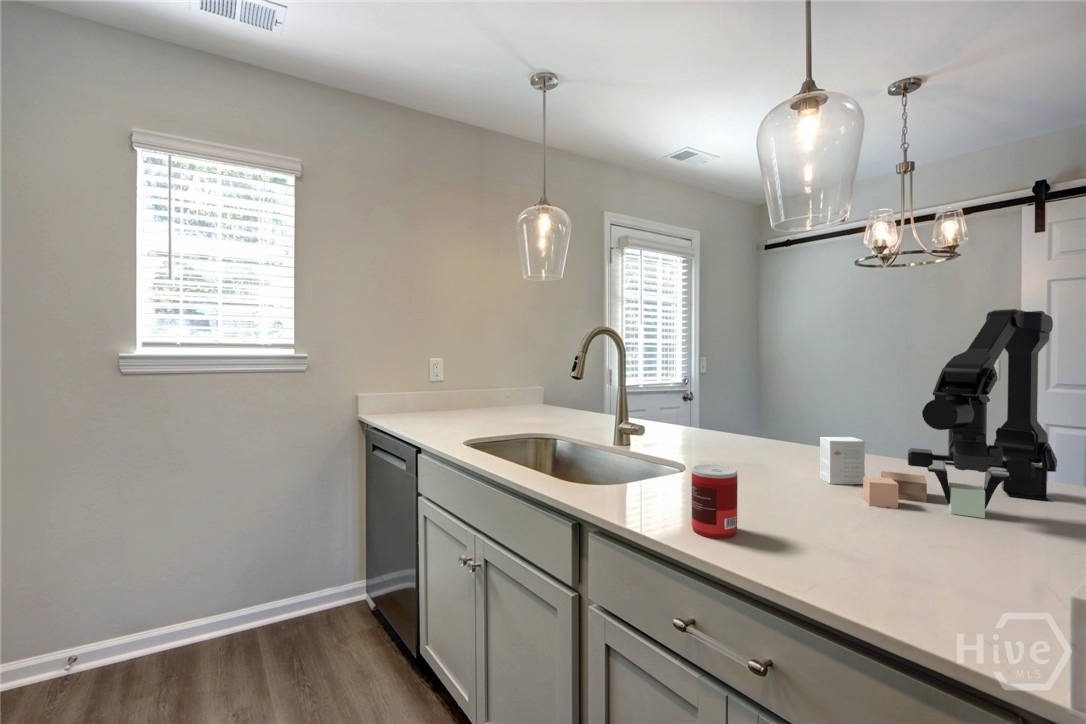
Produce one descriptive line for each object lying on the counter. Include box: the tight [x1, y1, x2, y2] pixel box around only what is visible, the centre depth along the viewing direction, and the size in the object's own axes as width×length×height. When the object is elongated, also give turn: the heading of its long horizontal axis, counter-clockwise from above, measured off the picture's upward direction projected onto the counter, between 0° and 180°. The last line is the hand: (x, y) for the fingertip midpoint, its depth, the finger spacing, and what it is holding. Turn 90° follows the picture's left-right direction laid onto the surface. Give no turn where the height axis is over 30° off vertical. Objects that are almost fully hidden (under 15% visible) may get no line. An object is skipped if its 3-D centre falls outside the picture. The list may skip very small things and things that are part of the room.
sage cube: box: [948, 481, 986, 519], centre depth 100 cm, size 5×5×5 cm
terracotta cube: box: [862, 476, 899, 509], centre depth 106 cm, size 5×5×5 cm
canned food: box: [691, 464, 739, 539], centre depth 91 cm, size 8×8×11 cm
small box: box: [819, 436, 866, 485], centre depth 124 cm, size 8×6×10 cm
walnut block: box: [880, 470, 928, 503], centre depth 112 cm, size 8×8×4 cm
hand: (966, 505), depth 100 cm, fingers closed on sage cube, 5 cm apart
